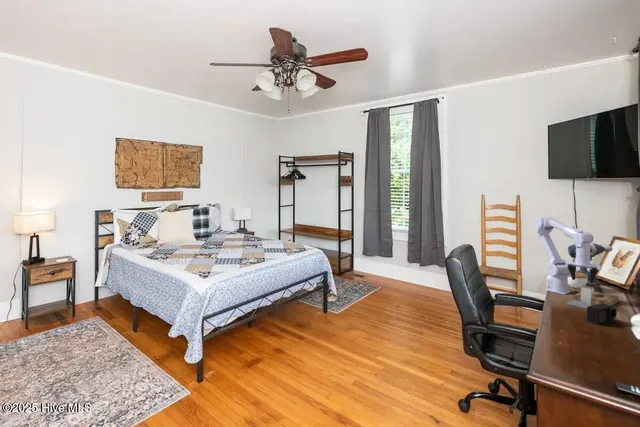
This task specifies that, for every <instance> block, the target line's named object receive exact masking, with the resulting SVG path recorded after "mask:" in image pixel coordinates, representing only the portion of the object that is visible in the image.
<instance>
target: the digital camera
mask: <svg viewBox="0 0 640 427" xmlns="http://www.w3.org/2000/svg"><path fill="white" fill-rule="evenodd" d="M617 315H618V310H617V309H616V308H615V306H614V305H612V306H611V305H607V304H596V305H592V306H587V309H586V322H588V323H590V324H593V325H597V326H600V325H604V324H610V323H614V320H615V318H616V317H617Z"/></svg>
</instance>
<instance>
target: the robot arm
mask: <svg viewBox="0 0 640 427" xmlns="http://www.w3.org/2000/svg"><path fill="white" fill-rule="evenodd" d="M533 226H534V228H535V231H536V234H537V237H538V239H539V241H540V244H541V245H542V247H543V250H544V251H545V254H546V256H547V258H548V259H549V262H548V263H547V266H546V267H547V268H548V273H549V274H548V275H547V277H546V286H545V291H548V292H552V293H557V294H561V295H567V294H569V293H571V290H568V289H569V288H568V287H569V285H568V277H569V275H570V274H571V276H572V280H575V271H577V268H580V267H584V268H587V269H589V271H590V283H593V282H594V278H595V277H597V274H598V273H599V271H600V270H602V265H599V264H593V263H591V261H590V244H592V243H593V241H594V235H593V234H592V233H591V232H590V231H586V232H584V231H583V230H582V229H578V228H577V227H576V226H575V225H568V226H567V225H566V224H564V223H562V222H561V221H559V220H558V219H557V218H556V217H552V216H549V217H544V216H543V217H539V216H538V217H536V218H534V221H533ZM554 229H557V230H559V231H561V232H563V235H564V236H566V237H568V238H570V239H572V240H573V242H574V245H576V258H575V261H566V260H565V259H562V258H561V255H560V254H559V251H558V249H557V248H556V246H555V244H554V242H553V239H552V238H551V236H550V233H551V232H552V231H553V230H554ZM585 266H587V267H585Z"/></svg>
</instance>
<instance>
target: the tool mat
mask: <svg viewBox="0 0 640 427" xmlns="http://www.w3.org/2000/svg"><path fill="white" fill-rule="evenodd" d="M565 304H566V305H569V306H573V307H578V308H582V309H586V310H587V306H583V305H581V301H580V300H575V299H572V300H569V301H568V302H567V303H565ZM594 305H597V304H594Z"/></svg>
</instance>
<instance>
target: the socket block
mask: <svg viewBox="0 0 640 427" xmlns="http://www.w3.org/2000/svg"><path fill="white" fill-rule="evenodd" d="M619 298H620V297H619V295H613V294H608V293H602V292H598V291H594V304H596V305H597V304H607V305H611V306H614V305H615V304H617V303H618V302H619ZM574 300H578V301H581V291H579V292H578V293H576V294H574Z"/></svg>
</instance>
